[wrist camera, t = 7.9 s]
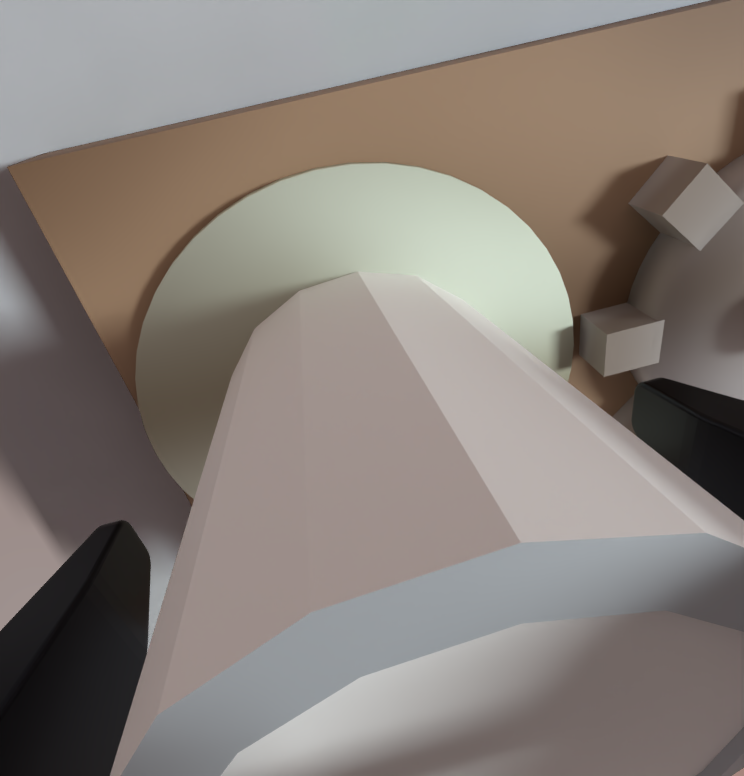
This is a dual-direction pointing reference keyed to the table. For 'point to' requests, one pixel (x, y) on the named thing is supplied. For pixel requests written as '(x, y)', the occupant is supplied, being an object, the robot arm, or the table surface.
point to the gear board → (430, 215)
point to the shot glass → (436, 568)
